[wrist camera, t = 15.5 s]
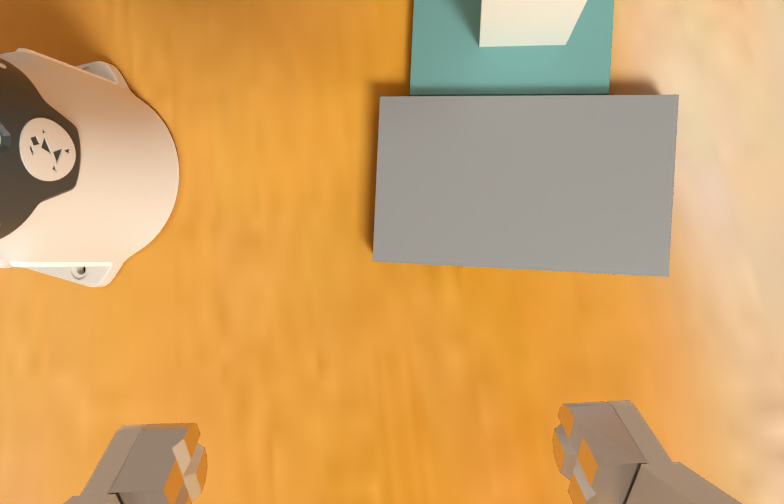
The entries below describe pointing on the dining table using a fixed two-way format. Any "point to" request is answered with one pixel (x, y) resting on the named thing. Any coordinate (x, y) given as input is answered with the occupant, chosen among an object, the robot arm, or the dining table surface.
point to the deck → (527, 182)
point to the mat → (506, 55)
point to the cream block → (528, 22)
